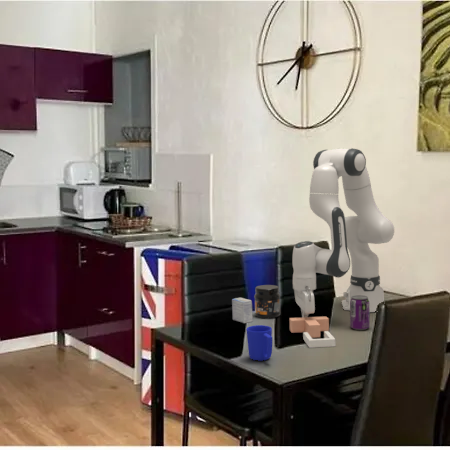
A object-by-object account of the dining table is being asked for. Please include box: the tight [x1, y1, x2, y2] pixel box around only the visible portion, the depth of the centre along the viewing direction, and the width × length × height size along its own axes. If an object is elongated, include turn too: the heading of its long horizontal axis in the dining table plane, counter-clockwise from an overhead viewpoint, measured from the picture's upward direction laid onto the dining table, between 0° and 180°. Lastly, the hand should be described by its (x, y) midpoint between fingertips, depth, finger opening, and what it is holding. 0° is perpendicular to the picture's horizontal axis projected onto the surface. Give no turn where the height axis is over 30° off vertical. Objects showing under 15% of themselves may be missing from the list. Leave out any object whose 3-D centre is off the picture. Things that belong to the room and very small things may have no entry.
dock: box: [302, 330, 336, 349], centre depth 227 cm, size 10×9×2 cm
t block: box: [288, 316, 330, 339], centre depth 239 cm, size 12×14×4 cm
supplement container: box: [253, 284, 281, 319], centre depth 267 cm, size 10×10×12 cm
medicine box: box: [231, 297, 253, 324], centre depth 260 cm, size 8×4×9 cm, turn 34°
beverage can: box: [349, 295, 371, 331], centre depth 243 cm, size 7×7×12 cm
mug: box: [246, 324, 273, 362], centre depth 209 cm, size 8×12×10 cm
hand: (305, 319), depth 251 cm, fingers closed
